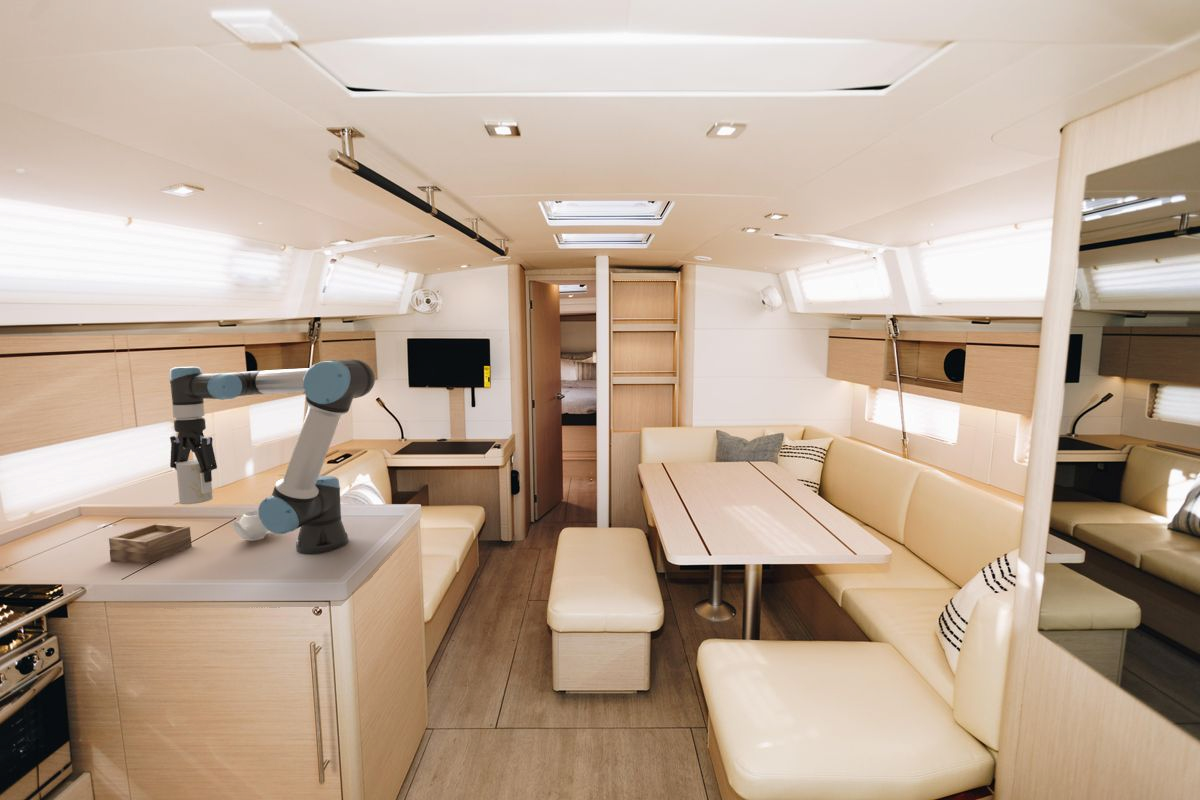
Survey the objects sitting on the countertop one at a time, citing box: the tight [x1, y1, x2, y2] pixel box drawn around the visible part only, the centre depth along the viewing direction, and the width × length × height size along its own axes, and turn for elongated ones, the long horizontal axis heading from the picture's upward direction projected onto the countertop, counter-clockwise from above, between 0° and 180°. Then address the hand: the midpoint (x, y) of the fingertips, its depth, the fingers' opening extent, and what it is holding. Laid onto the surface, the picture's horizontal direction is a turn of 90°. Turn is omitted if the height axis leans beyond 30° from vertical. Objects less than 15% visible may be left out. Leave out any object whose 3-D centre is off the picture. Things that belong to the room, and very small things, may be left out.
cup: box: [175, 458, 214, 505], centre depth 164 cm, size 8×8×12 cm
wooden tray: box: [108, 523, 192, 553], centre depth 169 cm, size 14×14×4 cm
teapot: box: [231, 509, 269, 542], centre depth 182 cm, size 10×20×9 cm, turn 178°
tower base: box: [109, 537, 193, 564], centre depth 170 cm, size 14×14×4 cm
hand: (195, 491), depth 164 cm, fingers closed on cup, 8 cm apart
